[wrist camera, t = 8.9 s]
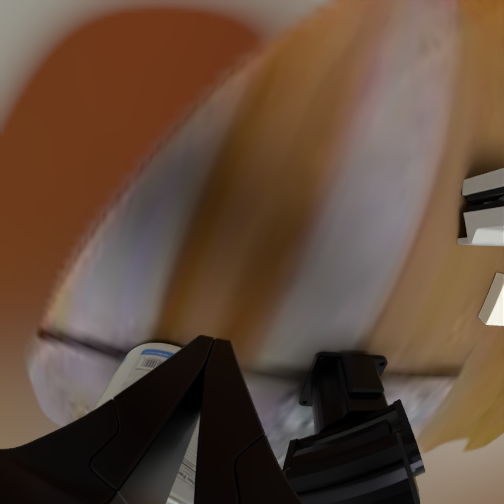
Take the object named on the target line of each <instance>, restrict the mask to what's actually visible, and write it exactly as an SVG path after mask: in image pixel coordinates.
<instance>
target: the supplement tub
mask: <svg viewBox="0 0 504 504" xmlns="http://www.w3.org/2000/svg"><path fill="white" fill-rule="evenodd" d="M180 349H181V348H180V347H178V346H174V345H170V344H164V343H147V344H143V345H140V346H138V347H136V348H134V349H133V350H131V351H130V352H129V353H128V354H127V356H126V357H125V359H124V360H123V361H122V363H121V365H120V366H119V368H118V369H117V371H116V373H115V374H114V376H113V377H112V379H111V380H110V382H109V384H108V385H107V387H106V388H105V390H104V392H103V393H102V395H101V397H100V398H99V400H98V401H97V403H96V405H95V406H94V408H93V410H95V409H96V408H98V407H99V406H101V405H102V404H104V403H105V402H107V401H108V400H110V399H113V397H114V396H116V395H117V394H119V393H120V392H121V391H123V390H124V389H126V388H127V387H129V386H130V385H131V384H133V383H134V382H136V381H137V380H139V379H140V378H141V377H143V376H144V375H146V374H147V373H148V372H150V371H151V370H153V369H154V368H155V367H157V366H158V365H159V364H161V363H162V362H164V361H165V360H166V359H168V358H169V357H170V356H172V355H173V354H175V353H176V352H177V351H179V350H180ZM93 410H92V411H93ZM199 421H200V417H199V420H198V422H197V425H196V428H195V430H194V433H193V435H192V438H191V441H190V443H189V446H188V448H187V451H186V454H185V456H184V459H183V461H182V464H181V466H180V469H179V472H178V474H177V477H176V479H175V482H174V484H173V487H172V489H171V492H170V494H169V497H168V500H167V502H166V504H194V489H195V473H196V458H197V445H198V433H199Z"/></svg>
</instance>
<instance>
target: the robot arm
mask: <svg viewBox="0 0 504 504" xmlns="http://www.w3.org/2000/svg"><path fill="white" fill-rule="evenodd" d="M320 358H323V359H320ZM381 362H382V363H381ZM386 365H387V360H386V358H385V357H378V356H362V355H349V354H337V353H327V352H320V353H318V354H317V355H316V357H315V360H314V363H313V365H312V368H311V370H310V373H309V376H308V378H307V381H306V383H305V386H304V388H303V391H302V393H301V395H300V398H299V404H300V405H302V406H312V408H313V419H314V430H315V434H314V435H311V436H308V437H305V438H301V439H294V440H290V443H289V447H288V451H287V455H286V458H285V462H284V466H283V469H281V468H280V466H279V464H278V462H277V459H276V457H275V455H274V453H273V451H272V449H271V446H270V444H269V441H268V439H267V437H266V435H265V432H264V429H263V427H262V424H261V422H260V419H259V417H258V414H257V412H256V409H255V406H254V404H253V401H252V399H251V396H250V393H249V391H248V388H247V385H246V382H245V380H244V377H243V374H242V372H241V369H240V366H239V363H238V360H237V358H236V355H235V352H234V349H233V346H232V343H231V341H229V340H225V339H219V338H217V339H214V338H213V337H209V336H204V335H199V336H198V337H196V338H195V339H194V340H192V341H191V342H190V343H188V344H187V345H185V346H184V347H183V348H181V349H180V350H179V351H177V352H176V353H175V354H173V355H172V356H170V357H169V358H168V359H166V360H165V361H164V362H162V363H161V364H159V365H158V366H157V367H155V368H154V369H153V370H151V371H150V372H148V373H147V374H146V375H144V376H143V377H141V378H140V379H139V380H137V381H136V382H134V383H133V384H131V385H130V386H129V387H127V388H126V389H124V390H123V391H121V392H120V393H119V394H117V395H116V396H114V397H113V399H110V400H108V401H107V402H105V403H104V404H102V405H101V406H99V407H98V408H96V409H95V410H93V411H91V412H90V413H88V414H87V415H85V416H83V417H81V418H80V419H78V420H76V421H74V422H72V423H70V424H68V425H66V426H64V427H62V428H60V429H58V430H56V431H54V432H52V433H49V434H47V435H45V436H43V437H41V438H38V439H36V440H34V441H32V442H29V443H27V444H24V445H22V446H19V447H15V448H9V449H0V504H166V502H167V500H168V497H169V494H170V492H171V489H172V487H173V484H174V482H175V479H176V477H177V474H178V472H179V469H180V466H181V464H182V461H183V459H184V456H185V454H186V451H187V448H188V446H189V443H190V441H191V438H192V435H193V433H194V430H195V428H196V425H197V422H198V420H199V417H200V421H199V433H198V445H197V458H196V473H195V489H194V504H420V497H419V490H418V486H417V482H416V478H415V477H416V476H418V475H421V474H423V473H425V469H424V465H423V462H422V458H421V455H420V452H419V449H418V446H417V443H416V440H415V437H414V434H413V431H412V429H411V426H410V423H409V421H408V418H407V415H406V413H405V410H404V408H403V405H402V403H401V400H400V399H399V400H397V401H395V402H393V404H391V405H389V406H388V404H387V401H386V399H385V396H384V393H383V392H384V388H383V385H382V382H381V379H380V376H381V374H382V372H383V371H384V369H385V367H386Z"/></svg>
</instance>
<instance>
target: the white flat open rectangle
mask: <svg viewBox="0 0 504 504" xmlns="http://www.w3.org/2000/svg"><path fill="white" fill-rule="evenodd" d="M478 317H479V318H480V319H481V320H482V321H483V322H484V323H485V324H486V325H501V326H504V274H501V273H497V272H496V275H495V278H494V280H493V283H492V285H491V288H490V290H489V293H488V295H487V297H486V300H485V302H484V304H483V306H482V309H481V311H480V313H479V315H478Z"/></svg>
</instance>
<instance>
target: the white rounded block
mask: <svg viewBox="0 0 504 504" xmlns="http://www.w3.org/2000/svg"><path fill="white" fill-rule="evenodd" d="M462 195H464V196H467V200H468V201H473V202H481V203H483V204H482V205H476V206H471V207H468V212H466V213H464V218H465V224H466V231H467V237H466V238H457V245H483V246H504V168H502V169H499V170H495V171H492V172H488V173H485V174H482V175H478V176H475V177H472V178H468V179H465V180H464V182H463V189H462Z"/></svg>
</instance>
